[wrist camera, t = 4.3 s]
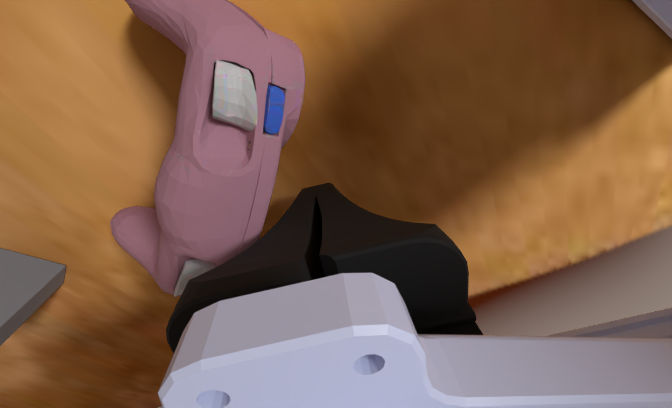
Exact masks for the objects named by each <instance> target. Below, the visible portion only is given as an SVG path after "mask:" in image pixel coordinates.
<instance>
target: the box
mask: <svg viewBox="0 0 672 408" xmlns="http://www.w3.org/2000/svg"><path fill="white" fill-rule="evenodd" d="M65 271H66V265H62V264H58V263H55V262H51V261H47V260H43V259H39V258H36V257H32V256H28V255H24V254H20V253H17V252H13V251H9V250H5V249H1V248H0V346H1V345H2V344H3V343H4V342H5V341H6V340H7V339H8V338H9V337H10V336H11V335H12V334H13V333H14V332H15V331H16V330H17V329H18V328H19V327H20V326H21V325H22V324H23V323H24V322H25V321H26V320H27V319H28V318H29V317H30V316H31V315H32V314H33V313H34V312H35V311H36V310H37V309H38V308H39V307H40V306H41V305H42V304H43V303H44V302H45V301H46V300H47V299H48V298H49V297H50V296H51V295H52V294H53V293H54V292H55V291H56V290H57V289H58V288H59V287H60V286H61V285H62V284H63V283H64V277H65Z"/></svg>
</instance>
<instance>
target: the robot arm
mask: <svg viewBox="0 0 672 408" xmlns="http://www.w3.org/2000/svg"><path fill="white" fill-rule="evenodd" d="M632 1H633V2H634V3H635V4H636V5H637V6H638V7H639V8H640V9H641V10H642V11H644V12H645V13H646V14H647V15H648V16H649V17H650V18H651V19H652V20H653V21H654V22H655V23H656V24H657V25H658V26H659V27H660V28H661V29H662V30H663V31H664V32H665V33H666V34H667V35H668V36H669V37H670V38H671V39H672V0H632ZM468 276H469V272H468V266H467V261H466V259H465V258H464V256H463V254H462V252H461V251H460V250H459V249H458V247H457V246H456V245H455V243H454V242H453V241H452V240H451V239H450V238H449V237H448V236H447V235H446V234H445V233H444V232H443V231H442V230H441V229H440V228H439V227H438V226H437V225H436V224H425V223H411V222H404V221H398V220H394V219H389V218H386V217H383V216H379V215H376V214H374V213H371V212H369V211H367V210H364V209H362V208H360V207H359V206H357V205H355V204H354V203H352V202H351V201H350V200H348V199H347V198H346V197H345V196H343V195H342V194H341V193H340V192H339V191H338V190H337V189H336V188H335V187H334V185H333V184H331V183H326V184H322V185H317V186H313V187H308V188H304V189H302V190H301V192H300V193H299V195H298V196H297V198H296V199H295V201H294V202H293V203H292V205H291V206H290V208H289V209H288V210H287V211H286V213H285V214H284V215H283V216H282V217H281V219H280V220H279V221H278V222H277V223H276V224H275V225H274V226H273V227H272V228H271V229H270V230H269V231H268V232H267V233H266V234H265V235H264V236H263V237H261V238H260V239H259V240H258V241H256V242H255V243H254V244H252V245H251V246H250V247H248V248H247V249H246V250H244V251H243V252H241V253H240V254H238V255H236V256H235V257H233V258H232V259H230V260H228V261H226V262H225V263H223V264H221V265H219V266H217V267H215V268H213V269H211V270H209V271H207V272H205V273H203V274H201V275H199V276H197V277H195V278H192V279H190V280H189V281H188V283H187V285H186V287H185V289H184V291H183V293H182V295H181V297H180V299H179V301H178V303H177V305H176V307H175V309H174V311H173V313H172V316H171V318H170V320H169V323H168V326H167V329H166V334H167V342H168V344H169V346H170V348H171V349H172V351H173V353H174V355H173V357H172V360H171V362H170V365H169V367H168V369H167V372H166V374H165V377H164V379H163V381H162V384H161V386H160V389H159V391H158V395H159V398H160V401H161V404H162V406H160V407H158V408H672V308H669V309H664V310H660V311H655V312H651V313H647V314H642V315H637V316H633V317H629V318H624V319H620V320H615V321H611V322H606V323H602V324H598V325H593V326H589V327H584V328H580V329H575V330H571V331H566V332H562V333H557V334H553V335H549V336H504V335H483V334H482V332H481V330H480V329H479V328H478V326H477V324H476V322H475V321H476V315H475V312H474V311H473V309H472V308H471V306H470V305H469V303H468Z"/></svg>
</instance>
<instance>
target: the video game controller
mask: <svg viewBox="0 0 672 408" xmlns="http://www.w3.org/2000/svg"><path fill="white" fill-rule="evenodd" d="M125 1H126V2H127V4H128V5H129V7H130V8H131V9H132V11H133V12H134V14H135V15H136V16H137V17H138V18H139V19H140V20H141V21H143V22H144V23H146V24H147V25H149V26H150V27H152V28H153V29H155V30H156V31H158V32H159V33H161V34H162V35H164V36H165V37H167V38H168V39H169V40H171V41H172V42H173V43H174V44H175V45H177V46H178V47H179V48H180V49H181V50H183V52H184V53H185V54H186V62H185V68H184V73H183V78H182V83H181V89H180V94H179V101H178V110H177V119H176V127H175V136H174V140H173V142H172V144H171V146H170V148H169V150H168V152H167V154H166V156H165V158H164V160H163V162H162V165H161V168H160V170H159V173H158V176H157V178H156V184H155V192H154V199H155V206H156V209H155V208H150V207H139V206H133V207H128V208H125V209H122V210H120V211H119V212H117V213H116V214H115V215H114V217H113V218H112V219H111V229H112V234H113V236H114V238H115V240H116V241H117V243H118V244H119V245H120V246H121V247H122V248H123V249H124V250H125V251H126V252H127V253H128V254H130V255H131V256H132V257H133V258H134V259H135V260H137V261H138V262H139V263H140V264H141V265H142V266H144V267H145V269H146V270H147V271H148V272H149V273H150V275H151V276H152V277H153V278H154V280H155V281H156V283H157V284H158V285H159V287H160V288H161V289H162V290H163V291H164V292H166V293H169V294H172V295H174V296H175V297H176V296H181V295H182V293H183V291H184V289H185V287H186V285H187V283H188V281H189V280H190V279H192V278H195V277H197V276H199V275H201V274H203V273H205V272H207V271H209V270H211V269H213V268H215V267H217V266H219V265H221V264H223V263H225V262H226V261H228V260H230V259H232V258H233V257H235V256H236V255H238V254H240V253H241V252H243V251H244V250H246V249H247V248H248V247H250V246H251V245H252V244H254V243H255V242H256V241H258V239H259V236H260V233H261V231H262V228H263V225H264V222H265V218H266V214H267V211H268V207H269V203H270V200H271V196H272V192H273V188H274V184H275V179H276V174H277V170H278V164H279V158H280V152H281V149H282V148H283V146H284V145H285V144H286V142H287V141H288V140H289V138H290V136H291V135H292V133H293V131H294V129H295V127H296V124H297V122H298V120H299V116H300V112H301V108H302V104H303V97H304V87H305V71H304V62H303V57H302V54H301V51H300V49H299V47H298V46H297V45H296V43H294V42H293V41H292V40H290V39H287V38H285V37H283V36H281V35H278V34H276V33H274V32H272V31H270V30H267V29H265V28H264V27H263V26H262V25H261V24H260V23H259V22H258V21H256V20H255V19H254V18H253V17H252V16H250V15H249V14H248V13H246V12H245V11H244V10H242V9H241V8H239V7H238V6H236V5H235V4H233V3H231V2H229V1H227V0H125Z"/></svg>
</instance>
